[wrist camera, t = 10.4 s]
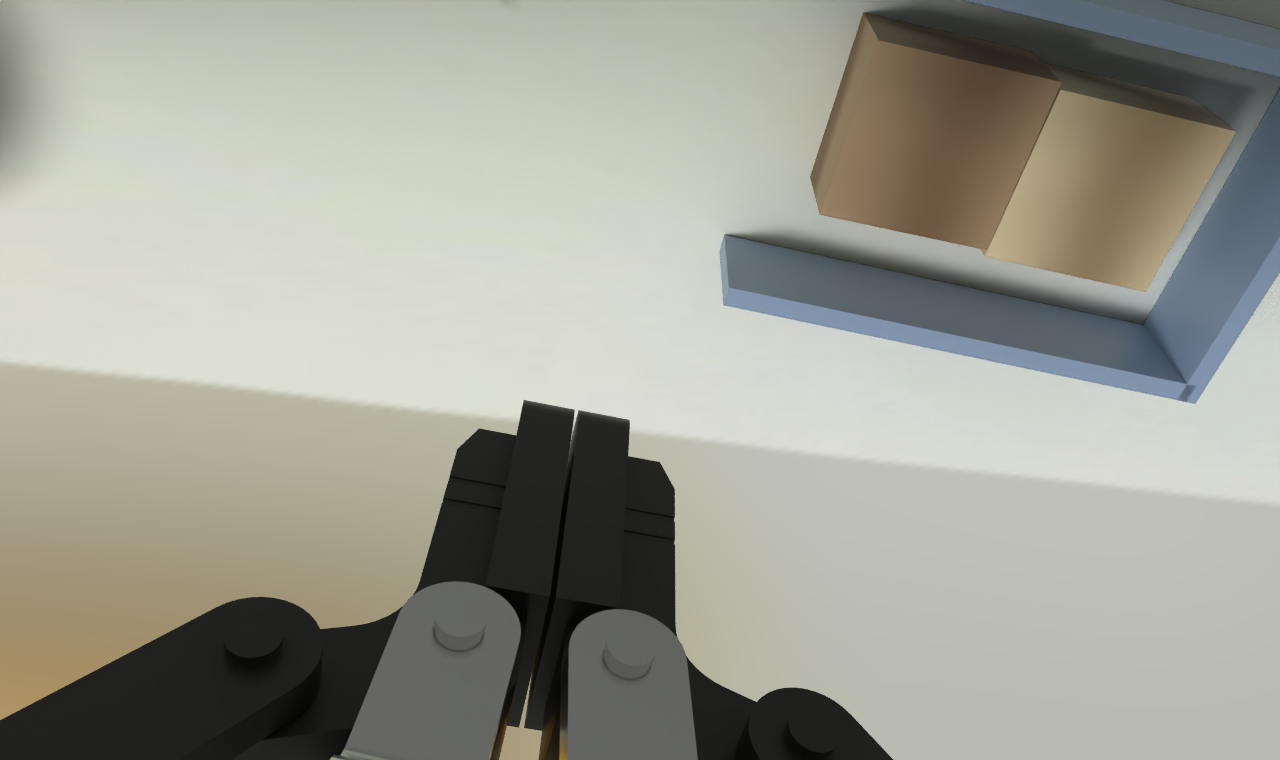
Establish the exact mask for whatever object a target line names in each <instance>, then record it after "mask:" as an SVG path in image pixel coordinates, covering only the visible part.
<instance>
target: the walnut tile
mask: <svg viewBox="0 0 1280 760" xmlns="http://www.w3.org/2000/svg"><path fill="white" fill-rule="evenodd" d="M1061 83H1062V82H1061V81H1060V80H1059V79H1058V78H1057V77H1056V76H1055V75H1054V74H1053V73H1052V72H1051V71H1050V69H1049V68H1048V67H1047V66H1046V65H1045V64H1044V63H1043V62H1042V61H1041V60H1040V59H1039V58H1038V57H1037V56H1036V55H1035V54H1034V53H1033V52H1032V51H1028V50H1024V49H1019V48H1015V47H1011V46H1006V45H1002V44H998V43H993V42H989V41H985V40H980V39H976V38H971V37H967V36H963V35H958V34H954V33H950V32H945V31H941V30H937V29H932V28H928V27H924V26H919V25H915V24H911V23H906V22H902V21H898V20H893V19H889V18H885V17H880V16H876V15H872V14H867V13H863V15H862V18H861V21H860V25H859V28H858V31H857V34H856V37H855V40H854V43H853V46H852V49H851V52H850V55H849V59H848V62H847V65H846V68H845V71H844V74H843V77H842V80H841V83H840V86H839V90H838V93H837V96H836V99H835V102H834V105H833V108H832V111H831V114H830V117H829V120H828V124H827V127H826V130H825V133H824V136H823V139H822V142H821V145H820V148H819V151H818V155H817V158H816V161H815V164H814V167H813V170H812V173H811V176H810V178H811V182H812V186H813V189H814V193H815V197H816V201H817V205H818V209H819V213H820V215H824V216H829V217H834V218H838V219H843V220H848V221H853V222H857V223H862V224H867V225H871V226H876V227H881V228H885V229H890V230H895V231H899V232H904V233H909V234H914V235H918V236H923V237H928V238H932V239H937V240H942V241H946V242H951V243H956V244H961V245H965V246H970V247H975V248H979V249H984V250H987V248H988V246H989V244H990V242H991V239H992V237H993V235H994V233H995V230H996V228H997V226H998V224H999V221H1000V219H1001V217H1002V215H1003V213H1004V210H1005V208H1006V206H1007V204H1008V201H1009V199H1010V197H1011V195H1012V192H1013V190H1014V188H1015V186H1016V183H1017V181H1018V179H1019V177H1020V175H1021V172H1022V170H1023V168H1024V166H1025V163H1026V161H1027V159H1028V157H1029V154H1030V152H1031V150H1032V148H1033V146H1034V143H1035V141H1036V139H1037V137H1038V134H1039V132H1040V130H1041V128H1042V125H1043V123H1044V121H1045V119H1046V117H1047V114H1048V112H1049V110H1050V108H1051V105H1052V103H1053V101H1054V99H1055V96H1056V94H1057V92H1058V90H1059V88H1060V85H1061Z"/></svg>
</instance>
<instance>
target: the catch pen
mask: <svg viewBox="0 0 1280 760" xmlns="http://www.w3.org/2000/svg"><path fill="white" fill-rule="evenodd" d="M965 1H969V2H973V3H977V4H982V5H986V6H990V7H994V8H998V9H1002V10H1006V11H1010V12H1015V13H1019V14H1023V15H1027V16H1031V17H1035V18H1039V19H1043V20H1048V21H1052V22H1056V23H1060V24H1064V25H1068V26H1072V27H1076V28H1081V29H1085V30H1089V31H1093V32H1097V33H1101V34H1105V35H1109V36H1114V37H1118V38H1122V39H1126V40H1130V41H1134V42H1138V43H1142V44H1146V45H1151V46H1155V47H1159V48H1163V49H1167V50H1171V51H1175V52H1179V53H1184V54H1188V55H1192V56H1196V57H1200V58H1204V59H1208V60H1212V61H1217V62H1221V63H1225V64H1229V65H1233V66H1237V67H1241V68H1245V69H1250V70H1254V71H1258V72H1262V73H1266V74H1270V75H1274V76H1278V77H1280V29H1276V28H1272V27H1268V26H1264V25H1260V24H1256V23H1252V22H1248V21H1244V20H1240V19H1236V18H1232V17H1228V16H1224V15H1220V14H1216V13H1212V12H1208V11H1204V10H1200V9H1195V8H1191V7H1187V6H1183V5H1179V4H1175V3H1171V2H1167V1H1163V0H965ZM720 263H721V278H722V292H723V305H725V306H730V307H735V308H740V309H745V310H749V311H754V312H759V313H764V314H768V315H773V316H778V317H783V318H788V319H792V320H797V321H802V322H807V323H811V324H816V325H821V326H826V327H831V328H835V329H840V330H845V331H850V332H854V333H859V334H864V335H869V336H874V337H878V338H883V339H888V340H893V341H898V342H902V343H907V344H912V345H917V346H921V347H926V348H931V349H936V350H941V351H945V352H950V353H955V354H960V355H964V356H969V357H974V358H979V359H984V360H988V361H993V362H998V363H1003V364H1007V365H1012V366H1017V367H1022V368H1027V369H1031V370H1036V371H1041V372H1046V373H1050V374H1055V375H1060V376H1065V377H1070V378H1074V379H1079V380H1084V381H1089V382H1093V383H1098V384H1103V385H1108V386H1113V387H1117V388H1122V389H1127V390H1132V391H1136V392H1141V393H1146V394H1151V395H1156V396H1160V397H1165V398H1170V399H1175V400H1179V401H1184V402H1189V403H1194V404H1195V403H1196V402H1197V400H1198V399H1199V397H1200V396H1201V394H1202V393H1203V391H1204V389H1205V388H1206V386H1207V385H1208V383H1209V382H1210V380H1211V379H1212V377H1213V375H1214V374H1215V372H1216V371H1217V369H1218V368H1219V366H1220V365H1221V363H1222V361H1223V360H1224V358H1225V357H1226V355H1227V354H1228V352H1229V351H1230V349H1231V347H1232V346H1233V344H1234V343H1235V341H1236V340H1237V338H1238V337H1239V335H1240V334H1241V332H1242V330H1243V329H1244V327H1245V326H1246V324H1247V323H1248V321H1249V320H1250V318H1251V316H1252V315H1253V313H1254V312H1255V310H1256V309H1257V307H1258V306H1259V304H1260V302H1261V301H1262V299H1263V298H1264V296H1265V295H1266V293H1267V292H1268V290H1269V288H1270V287H1271V285H1272V284H1273V282H1274V281H1275V279H1276V278H1277V276H1278V274H1279V273H1280V89H1279V91H1278V93H1277V95H1276V96H1275V98H1274V100H1273V101H1272V103H1271V105H1270V107H1269V108H1268V110H1267V112H1266V114H1265V115H1264V117H1263V119H1262V121H1261V122H1260V124H1259V126H1258V127H1257V129H1256V131H1255V133H1254V134H1253V136H1252V138H1251V140H1250V141H1249V143H1248V145H1247V147H1246V148H1245V150H1244V152H1243V153H1242V155H1241V157H1240V159H1239V160H1238V162H1237V164H1236V166H1235V167H1234V169H1233V171H1232V172H1231V174H1230V176H1229V178H1228V179H1227V181H1226V183H1225V185H1224V186H1223V188H1222V190H1221V192H1220V193H1219V195H1218V197H1217V198H1216V200H1215V202H1214V204H1213V205H1212V207H1211V209H1210V211H1209V212H1208V214H1207V216H1206V218H1205V219H1204V221H1203V223H1202V224H1201V226H1200V228H1199V230H1198V231H1197V233H1196V235H1195V237H1194V238H1193V240H1192V242H1191V244H1190V245H1189V247H1188V249H1187V250H1186V252H1185V254H1184V256H1183V257H1182V259H1181V261H1180V263H1179V264H1178V266H1177V268H1176V269H1175V271H1174V273H1173V275H1172V276H1171V278H1170V280H1169V282H1168V283H1167V285H1166V287H1165V289H1164V290H1163V292H1162V294H1161V295H1160V297H1159V299H1158V301H1157V302H1156V304H1155V306H1154V308H1153V309H1152V311H1151V313H1150V315H1149V316H1148V318H1147V320H1146V321H1145V323H1144V325H1140V324H1136V323H1131V322H1126V321H1122V320H1117V319H1113V318H1108V317H1103V316H1099V315H1094V314H1089V313H1085V312H1080V311H1075V310H1071V309H1066V308H1062V307H1057V306H1052V305H1048V304H1043V303H1038V302H1034V301H1029V300H1024V299H1020V298H1015V297H1011V296H1006V295H1001V294H997V293H992V292H987V291H983V290H978V289H973V288H969V287H964V286H960V285H955V284H950V283H946V282H941V281H936V280H932V279H927V278H922V277H918V276H913V275H909V274H904V273H899V272H895V271H890V270H885V269H881V268H876V267H871V266H867V265H862V264H858V263H853V262H848V261H844V260H839V259H834V258H830V257H825V256H820V255H816V254H811V253H807V252H802V251H797V250H793V249H788V248H783V247H779V246H774V245H769V244H765V243H760V242H756V241H751V240H746V239H742V238H737V237H732V236H728V235H724V238H723V242H722V245H721V249H720Z"/></svg>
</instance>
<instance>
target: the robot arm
mask: <svg viewBox="0 0 1280 760" xmlns="http://www.w3.org/2000/svg"><path fill="white" fill-rule="evenodd" d="M574 412H575V410H573V409H568V408H563V407H558V406H552V405H547V404H542V403H537V402H531V401H526V400H524V402H523V407H522V412H521V417H520V421H519V426H518V431H517V436H516V435H510V434H505V433H500V432H495V431H489V430H484V429H478V430H477V431H476V432H475V433H474V434H473V435H472V436H471V437H470V438H469V439H468V440H467V441H466V442H465V443H464V444H462V445H461V446H460V447H459V448H458V449H457V453H456V456H455V460H454V463H453V466H452V470H451V474H450V478H449V481H448V484H447V488H446V491H445V495H444V498H443V503H442V505H441V509H440V512H439V516H438V519H437V523H436V526H435V530H434V533H433V537H432V541H431V544H430V548H429V551H428V555H427V558H426V562H425V566H424V569H423V572H422V576H421V579H420V582H419V585H418V587H417V590H416V591H415V593H414V594H413V596H412V597H411V598H409V599H408V601H407V602H406V603H405V604H404V605H403V607H401V608H400V609H399V610H397V611H396V612H394V613H392V614H391V615H389V616H387V617H385V618H382V619H380V620H378V621H375V622H371V623H368V624H363V625H356V626H349V627H339V628H329V629H320V628H319V626H318V624H317V622H316V621H315V620H314V619H313V617H312V616H311V615H310V614H309V613H307V612H306V611H305V610H304V609H302V608H301V607H299V606H297V605H295V604H293V603H290V602H288V601H285V600H280V599H276V598H268V597H251V598H244V599H238V600H235V601H231V602H228V603H225V604H223V605H221V606H219V607H216V608H214V609H212V610H211V611H209V612H207V613H205V614H203V615H201V616H199V617H197V618H196V619H193V620H191V621H190V622H188V623H186V624H184V625H182V626H180V627H178V628H176V629H174V630H172V631H170V632H168V633H167V634H165V635H163V636H161V637H159V638H157V639H155V640H153V641H151V642H150V643H147V644H145V645H144V646H142V647H140V648H138V649H136V650H134V651H132V652H130V653H128V654H126V655H124V656H123V657H121V658H119V659H117V660H115V661H113V662H111V663H109V664H107V665H105V666H103V667H101V668H100V669H98V670H96V671H94V672H92V673H90V674H88V675H86V676H84V677H82V678H80V679H78V680H77V681H75V682H73V683H71V684H69V685H67V686H65V687H63V688H61V689H59V690H57V691H56V692H54V693H52V694H50V695H48V696H46V697H44V698H42V699H41V700H38V701H36V702H35V703H33V704H31V705H29V706H27V707H25V708H23V709H21V710H20V711H17V712H15V713H14V714H12V715H10V716H8V717H6V718H4V719H2V720H0V760H499V757H500V752H501V748H502V744H503V739H504V735H505V731H506V726H514V727H519V724H520V720H521V715H522V711H523V707H524V703H525V699H526V695H527V690H528V686H529V682H530V678H531V684H530V690H529V698H528V705H527V712H526V719H525V726H524V728H529V729H535V730H541V731H542V737H541V745H540V754H539V760H893V759H892V758H891V757H890V756H889V755H888V754H887V753H886V752H885V751H884V749H882V747H881V746H880V745H879V744H878V743H877V742H876V741H875V740H874V739H873V738H872V737H871V736H870V735H869V734H868V732H867V731H866V730H865V729H864V728H863V727H862V726H861V725H860V724H859V723H858V722H857V721H856V720H855V719H854V718H853V717H852V715H851V714H849V713H848V712H847V711H846V710H845V709H844V708H843V707H842V706H840V705H839V704H838V703H836V702H835V701H833V700H832V699H830V698H828V697H826V696H824V695H822V694H819V693H817V692H814V691H810V690H807V689H802V688H782V689H777V690H774V691H772V692H769V693H767V694H766V695H765V696H763V697H761V698H760V699H759V700H758V702H755V701H753V700H751V699H749V698H746V697H744V696H742V695H740V694H738V693H735V692H733V691H731V690H729V689H727V688H725V687H723V686H721V685H719V684H717V683H715V682H714V681H712V680H711V679H709V678H708V677H706V676H705V675H704V674H702V673H701V672H700V671H699V670H698V669H697V668H696V667H695V666H694V665H693V664H692V663H691V662H690V661H689V659H688V658H687V656H686V654H685V651H684V649H683V646H682V644H681V643H680V641H679V640H678V638H677V634H676V627H675V545H674V540H675V522H674V517H675V497H674V496H675V492H674V491H675V489H674V487H673V485H672V484H671V482H670V480H669V478H668V476H667V474H666V473H665V471H664V469H663V467H662V465H661V464H660V462H656V461H650V460H645V459H640V458H634V457H629V456H628V446H629V429H630V421H629V420H627V419H622V418H616V417H611V416H606V415H601V414H595V413H590V412H585V411H580V410H579V411H578V414H577V418H576V422H575V427H574V431H573V435H572V428H573V420H574ZM571 435H572V440H571ZM570 442H571V444H570ZM531 674H532V676H531Z"/></svg>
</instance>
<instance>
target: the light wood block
mask: <svg viewBox="0 0 1280 760" xmlns="http://www.w3.org/2000/svg"><path fill="white" fill-rule="evenodd" d="M1044 64H1045V65H1046V66H1047V67H1048V68H1049V69H1050V71H1051V72H1052V73H1053V74H1054V75H1055V76H1056V77H1057V78H1058V79H1059V80H1060V81H1061V82H1062V83H1061V85H1060V88H1059V90H1058V92H1057V94H1056V96H1055V99H1054V101H1053V103H1052V105H1051V108H1050V110H1049V112H1048V114H1047V117H1046V119H1045V121H1044V123H1043V125H1042V128H1041V130H1040V132H1039V134H1038V137H1037V139H1036V141H1035V143H1034V146H1033V148H1032V150H1031V152H1030V154H1029V157H1028V159H1027V161H1026V163H1025V166H1024V168H1023V170H1022V172H1021V175H1020V177H1019V179H1018V181H1017V183H1016V186H1015V188H1014V190H1013V192H1012V195H1011V197H1010V199H1009V201H1008V204H1007V206H1006V208H1005V210H1004V213H1003V215H1002V217H1001V219H1000V221H999V224H998V226H997V228H996V230H995V233H994V235H993V237H992V239H991V242H990V244H989V246H988V248H987V250H984V249H981V250H982V252H983V254H984V256H986V257H990V258H995V259H999V260H1004V261H1008V262H1013V263H1017V264H1022V265H1026V266H1031V267H1035V268H1040V269H1044V270H1049V271H1054V272H1058V273H1063V274H1067V275H1072V276H1076V277H1081V278H1085V279H1090V280H1094V281H1099V282H1103V283H1108V284H1112V285H1117V286H1121V287H1126V288H1130V289H1135V290H1139V291H1144V292H1146V291H1147V289H1148V287H1149V285H1150V284H1151V282H1152V280H1153V278H1154V277H1155V275H1156V273H1157V271H1158V269H1159V268H1160V266H1161V264H1162V262H1163V261H1164V259H1165V257H1166V255H1167V254H1168V252H1169V250H1170V248H1171V246H1172V245H1173V243H1174V241H1175V239H1176V238H1177V236H1178V234H1179V232H1180V230H1181V229H1182V227H1183V225H1184V223H1185V222H1186V220H1187V218H1188V216H1189V215H1190V213H1191V211H1192V209H1193V207H1194V206H1195V204H1196V202H1197V200H1198V199H1199V197H1200V195H1201V193H1202V192H1203V190H1204V188H1205V186H1206V184H1207V183H1208V181H1209V179H1210V177H1211V176H1212V174H1213V172H1214V170H1215V169H1216V167H1217V165H1218V163H1219V161H1220V160H1221V158H1222V156H1223V154H1224V153H1225V151H1226V149H1227V147H1228V146H1229V144H1230V142H1231V140H1232V138H1233V137H1234V135H1235V133H1236V131H1235V130H1234V129H1233V128H1231V127H1230V126H1229V125H1227V124H1226V123H1225V122H1223V121H1222V120H1221V119H1220V118H1218V117H1217V116H1216V115H1214V114H1213V113H1212V112H1210V111H1209V110H1208V109H1207V108H1205V107H1204V106H1203V105H1201V104H1200V103H1199V102H1197V101H1196V100H1195V99H1194V98H1190V97H1186V96H1181V95H1177V94H1173V93H1169V92H1165V91H1161V90H1156V89H1152V88H1148V87H1144V86H1140V85H1135V84H1131V83H1127V82H1123V81H1119V80H1115V79H1110V78H1106V77H1102V76H1098V75H1094V74H1089V73H1085V72H1081V71H1077V70H1073V69H1069V68H1064V67H1060V66H1056V65H1052V64H1048V63H1044Z"/></svg>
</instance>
